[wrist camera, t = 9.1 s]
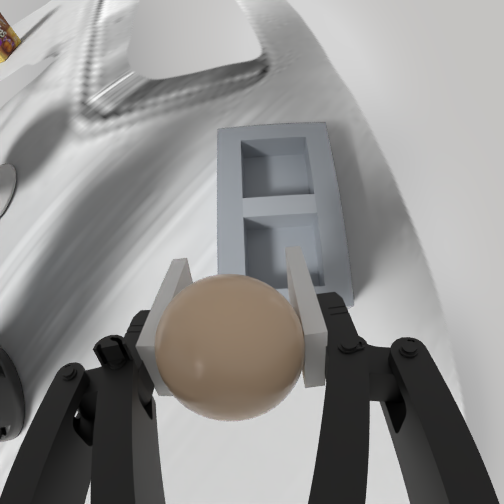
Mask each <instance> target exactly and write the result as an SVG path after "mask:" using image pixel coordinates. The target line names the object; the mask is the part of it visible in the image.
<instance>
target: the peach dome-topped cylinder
mask: <svg viewBox="0 0 504 504" xmlns="http://www.w3.org/2000/svg"><path fill="white" fill-rule="evenodd" d="M154 348H155V359H156V364H157V367H158V371H159V373H160V376H161V378H162V380H163V382H164V383H165V385H166V387H167V388H168V390H169V391H170V392H171V393H172V395H173V396H174V397H175V398H176V399H177V400H178V401H179V402H180V403H181V404H183V405H184V406H185V407H187V408H188V409H189V410H191V411H193V412H195V413H197V414H199V415H201V416H204V417H206V418H210V419H214V420H220V421H241V420H247V419H251V418H254V417H258V416H260V415H262V414H264V413H267V412H268V411H270V410H271V409H273V408H275V407H276V406H277V405H278V404H280V403H281V402H282V401H283V400H284V399H285V398H286V397H287V396H288V394H289V393H290V392H291V391H292V389H293V388H294V386H295V385H296V383H297V381H298V379H299V377H300V374H301V371H302V368H303V364H304V358H305V340H304V333H303V329H302V325H301V323H300V320H299V318H298V316H297V314H296V312H295V310H294V309H293V307H292V306H291V304H290V303H289V302H288V301H287V300H286V298H285V297H284V296H283V295H282V294H281V293H279V292H278V291H277V290H276V289H274V288H273V287H271V286H270V285H268V284H266V283H264V282H262V281H260V280H258V279H256V278H252V277H249V276H245V275H239V274H218V275H213V276H209V277H206V278H203V279H200V280H198V281H196V282H194V283H192V284H190V285H189V286H187V287H186V288H184V289H183V290H182V291H180V292H179V293H178V294H177V295H176V296H175V297H174V298H173V299H172V300H171V301H170V303H169V304H168V305H167V307H166V308H165V310H164V312H163V314H162V316H161V318H160V320H159V323H158V326H157V330H156V334H155V343H154Z"/></svg>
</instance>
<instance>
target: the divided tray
mask: <svg viewBox="0 0 504 504" xmlns="http://www.w3.org/2000/svg"><path fill="white" fill-rule="evenodd" d="M294 246H300V247H301V250H302V253H303V256H304V259H305V262H306V265H307V268H308V271H309V274H310V277H311V280H312V283H313V286H314V290H315V293H316V294H320V293H328V292H336V293H337V294H338V295H340V296H341V297H342V298H343V300H344V303H345V305H346V307H347V309H349V308H351V307H353V306H354V298H353V288H352V279H351V270H350V262H349V254H348V246H347V239H346V232H345V225H344V218H343V212H342V205H341V199H340V193H339V188H338V182H337V177H336V171H335V166H334V161H333V156H332V151H331V146H330V141H329V136H328V132H327V127H326V123H325V122H314V123H286V124H268V125H254V126H242V127H231V128H221V129H218V142H217V257H218V274H239V275H245V276H249V277H252V278H256V279H258V280H260V281H262V282H264V283H266V284H268V285H270V286H271V287H273V288H274V289H276V290H277V291H278V292H279V293H281V294H282V295H283V296H284V297H285V298H286V300H287V301H288V302H289V303H290V299H289V294H288V280H287V267H286V254H285V247H294Z"/></svg>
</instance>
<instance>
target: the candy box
mask: <svg viewBox="0 0 504 504" xmlns="http://www.w3.org/2000/svg"><path fill="white" fill-rule="evenodd" d="M20 42H21V40H20V39H19V38H18V36H17V35H16V33H15V32H14V31H13V29H12V28H11V27H10V25H9V24H8V23H7V21H6V20H5V19H4V17H3V16H2V15H1V13H0V63H1V62H4V61H5V60H6V59H7V58H8V57H9V55H10V54H11V53H12V52H13V51H14V49H15V48H16V47H17V46H18V45H19V44H20Z"/></svg>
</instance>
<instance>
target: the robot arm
mask: <svg viewBox="0 0 504 504" xmlns="http://www.w3.org/2000/svg"><path fill="white" fill-rule="evenodd" d="M285 254H286V267H287V280H288V294H289V299H290V304H291V306H292V307H293V309H294V310H295V312H296V314H297V316H298V318H299V320H300V323H301V325H302V329H303V333H304V340H305V358H304V364H303V368H302V372H303V378H304V384H305V388H308V387H316V386H323V385H325V378H326V390H325V399H324V407H323V415H322V423H321V430H320V437H319V444H318V450H317V457H316V463H315V469H314V475H313V480H312V486H311V491H310V496H309V501H308V504H365V499H366V488H367V474H368V456H369V423H370V401H380V404H381V407H382V410H383V413H384V416H385V419H386V422H387V425H388V429H389V432H390V435H391V438H392V441H393V444H394V448H395V451H396V454H397V458H398V461H399V465H400V468H401V471H402V475H403V478H404V482H405V486H406V489H407V493H408V497H409V501H410V504H499V501H498V499H497V496H496V494H495V491H494V488H493V485H492V483H491V480H490V477H489V475H488V472H487V470H486V467H485V465H484V463H483V460H482V458H481V456H480V453H479V451H478V449H477V446H476V444H475V442H474V440H473V437H472V435H471V433H470V431H469V429H468V427H467V425H466V422H465V420H464V418H463V416H462V414H461V412H460V410H459V408H458V406H457V404H456V402H455V400H454V398H453V396H452V394H451V392H450V390H449V388H448V386H447V385H446V383H445V381H444V379H443V377H442V375H441V373H440V371H439V370H438V368H437V366H436V364H435V362H434V361H433V359H432V357H431V355H430V353H429V352H428V350H427V348H426V346H425V345H424V344H423V343H422V342H421V341H419V340H417V339H415V338H410V337H405V338H400V339H397V340H396V341H395V342H393V343H392V346H391V348H387V347H376V346H371V345H368V344H367V342H366V341H365V340H364V339H363V338H362V337H360V336H358V334H357V331H356V329H355V326H354V324H353V322H352V319H351V317H350V314H349V313H348V310H347V307H346V305H345V303H344V300H343V298H342V297H341V296H340V295H338V294H337V293H336V292H328V293H320V294H316V293H315V290H314V286H313V283H312V280H311V277H310V274H309V271H308V268H307V265H306V262H305V259H304V256H303V253H302V250H301V247H300V246H294V247H285ZM192 283H193V282H192V277H191V273H190V269H189V265H188V260H187V258H183V259H173V260H172V263H171V265H170V267H169V269H168V271H167V274H166V276H165V278H164V280H163V283H162V285H161V287H160V289H159V292H158V294H157V296H156V298H155V301H154V303H153V305H152V308H151V310H142V311H140V312H139V313H137V314H136V315H135V316H134V317H133V319H132V321H131V323H130V327H129V328H128V330H127V333H126V334H125V336H124V338H123V337H122V336H119V335H110V336H107V337H104V338H103V339H101V340H99V341H98V342H97V343H96V344H95V346H94V348H93V350H94V352H95V354H96V356H97V358H98V360H99V361H100V363H101V365H102V367H99V368H95V369H91V370H86V371H85V369H84V367H83V366H82V365H81V364H80V363H76V362H75V363H69V364H67V365H65V366H63V367H62V368H61V369H60V370H59V371H58V372H57V374H56V376H55V378H54V380H53V381H52V383H51V385H50V387H49V389H48V391H47V393H46V395H45V397H44V399H43V401H42V403H41V405H40V407H39V409H38V411H37V413H36V415H35V417H34V419H33V421H32V423H31V425H30V427H29V429H28V431H27V434H26V436H25V438H24V440H23V442H22V445H21V447H20V449H19V452H18V454H17V456H16V459H15V461H14V463H13V466H12V468H11V471H10V473H9V476H8V478H7V481H6V484H5V486H4V489H3V492H2V494H1V497H0V504H84V503H85V499H86V495H87V492H88V488H89V484H90V481H91V504H165V497H164V490H163V482H162V474H161V465H160V455H159V444H158V433H157V419H156V404H155V400H154V398H153V396H152V394H153V390H154V387H155V389H156V391H157V393H158V395H159V396H173V395H172V393H171V392H170V391H169V390H168V388H167V387H166V385H165V383H164V382H163V380H162V378H161V376H160V373H159V371H158V367H157V364H156V359H155V348H154V343H155V334H156V330H157V326H158V323H159V320H160V318H161V316H162V314H163V312H164V310H165V308H166V307H167V305H168V304H169V303H170V301H171V300H172V299H173V298H174V297H175V296H176V295H177V294H178V293H179V292H180V291H182V290H183V289H184V288H186V287H187V286H189V285H190V284H192ZM76 411H78V414H77V416H76V417H74V416H75V414H76ZM23 422H24V397H23V392H22V387H21V383H20V380H19V377H18V374H17V372H16V369H15V367H14V365H13V363H12V361H11V360H10V358H9V356H8V355H7V354H6V352H5V351H4V350H3V349H2V348H1V347H0V442H3V441H8V440H12V439H14V438H15V437H17V436H18V434H19V433H20V431H21V429H22V426H23Z"/></svg>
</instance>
